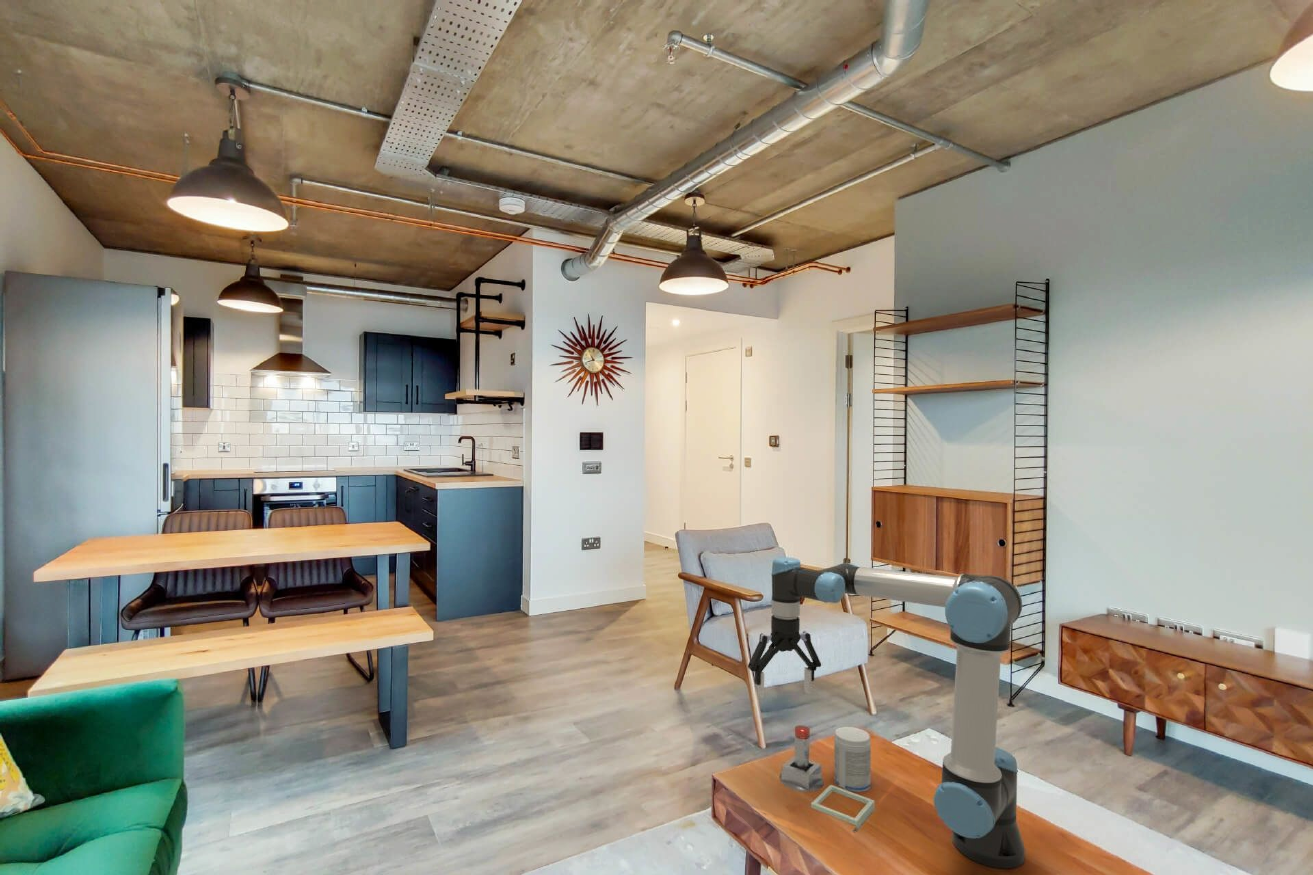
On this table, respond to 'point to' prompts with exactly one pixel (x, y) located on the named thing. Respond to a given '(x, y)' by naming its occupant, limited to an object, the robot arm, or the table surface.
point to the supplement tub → (852, 759)
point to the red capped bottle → (802, 748)
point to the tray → (857, 821)
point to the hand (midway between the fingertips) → (784, 694)
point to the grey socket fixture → (802, 776)
